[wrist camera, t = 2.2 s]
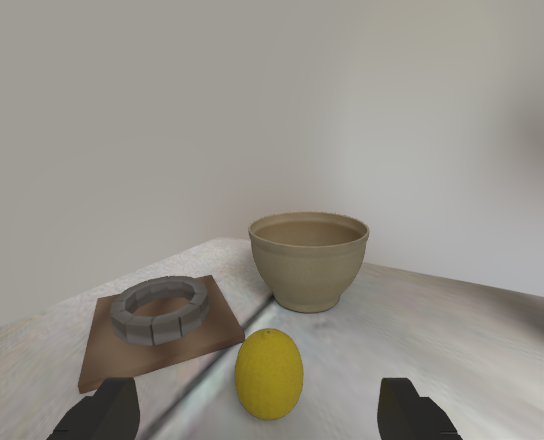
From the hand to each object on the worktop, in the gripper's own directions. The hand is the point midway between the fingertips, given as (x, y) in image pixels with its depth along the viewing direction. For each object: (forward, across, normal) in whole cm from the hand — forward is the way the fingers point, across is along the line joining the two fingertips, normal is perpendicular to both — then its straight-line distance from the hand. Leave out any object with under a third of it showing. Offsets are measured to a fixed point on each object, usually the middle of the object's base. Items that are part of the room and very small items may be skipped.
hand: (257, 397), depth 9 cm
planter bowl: (+30, -5, +14) cm, 34 cm away
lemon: (+12, 0, +14) cm, 18 cm away
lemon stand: (+24, +13, +14) cm, 31 cm away
